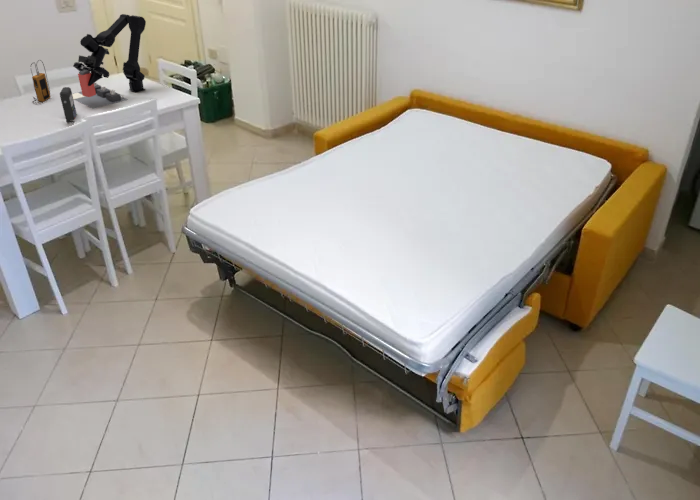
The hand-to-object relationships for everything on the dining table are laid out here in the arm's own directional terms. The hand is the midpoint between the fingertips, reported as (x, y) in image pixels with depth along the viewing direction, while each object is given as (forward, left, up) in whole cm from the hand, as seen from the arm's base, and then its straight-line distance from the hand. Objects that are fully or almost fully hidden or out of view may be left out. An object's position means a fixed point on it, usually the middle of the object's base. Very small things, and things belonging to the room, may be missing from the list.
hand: (84, 85), depth 292 cm
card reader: (+14, +8, -13) cm, 20 cm away
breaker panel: (-8, -9, -12) cm, 18 cm away
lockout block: (-1, 0, -6) cm, 6 cm away
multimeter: (+12, -31, -13) cm, 36 cm away
